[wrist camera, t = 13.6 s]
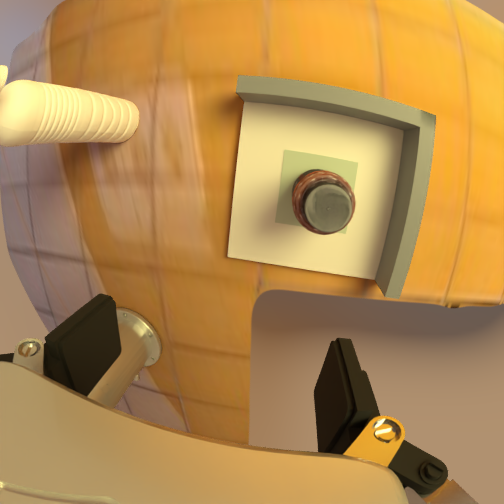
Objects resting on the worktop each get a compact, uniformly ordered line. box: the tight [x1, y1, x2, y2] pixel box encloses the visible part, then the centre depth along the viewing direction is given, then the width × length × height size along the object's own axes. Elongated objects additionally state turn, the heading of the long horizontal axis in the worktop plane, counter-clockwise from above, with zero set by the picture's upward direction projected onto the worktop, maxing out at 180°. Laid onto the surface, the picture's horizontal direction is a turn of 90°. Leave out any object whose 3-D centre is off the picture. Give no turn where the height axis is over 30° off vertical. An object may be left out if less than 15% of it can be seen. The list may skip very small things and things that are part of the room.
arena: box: [228, 75, 436, 299], centre depth 30 cm, size 22×22×6 cm
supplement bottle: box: [292, 169, 356, 235], centre depth 27 cm, size 6×6×11 cm
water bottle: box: [0, 65, 139, 147], centre depth 21 cm, size 9×6×25 cm
